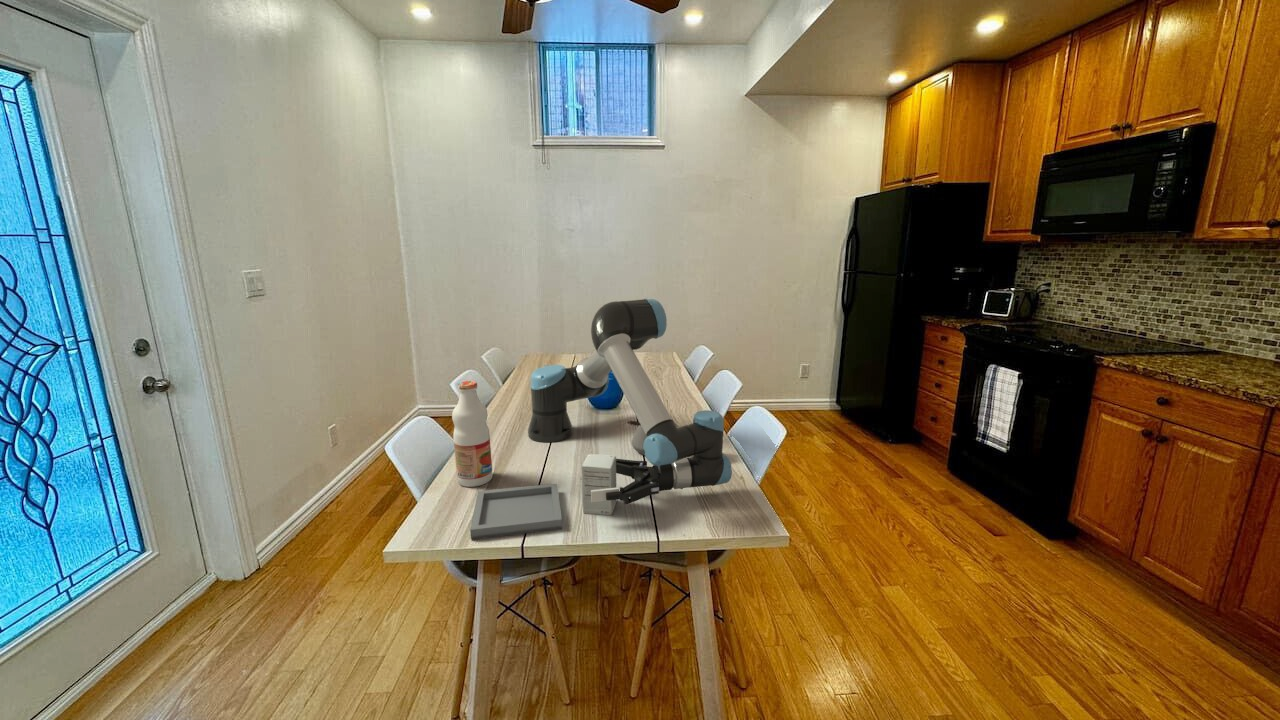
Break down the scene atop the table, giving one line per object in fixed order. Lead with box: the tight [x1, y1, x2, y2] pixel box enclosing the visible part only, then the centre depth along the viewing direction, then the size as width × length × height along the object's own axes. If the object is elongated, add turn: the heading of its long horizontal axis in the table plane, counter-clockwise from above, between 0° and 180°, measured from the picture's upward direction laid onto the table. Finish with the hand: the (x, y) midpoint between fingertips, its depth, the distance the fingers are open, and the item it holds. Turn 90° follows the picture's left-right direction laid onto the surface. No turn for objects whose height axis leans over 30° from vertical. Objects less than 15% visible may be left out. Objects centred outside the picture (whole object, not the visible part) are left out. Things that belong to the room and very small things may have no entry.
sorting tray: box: [469, 483, 563, 541], centre depth 121 cm, size 18×20×2 cm
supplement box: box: [581, 453, 618, 516], centre depth 123 cm, size 7×7×13 cm
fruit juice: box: [451, 380, 493, 488], centre depth 135 cm, size 9×9×28 cm
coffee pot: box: [623, 420, 647, 456], centre depth 152 cm, size 21×12×15 cm, turn 154°
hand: (587, 482), depth 122 cm, fingers open, 13 cm apart
